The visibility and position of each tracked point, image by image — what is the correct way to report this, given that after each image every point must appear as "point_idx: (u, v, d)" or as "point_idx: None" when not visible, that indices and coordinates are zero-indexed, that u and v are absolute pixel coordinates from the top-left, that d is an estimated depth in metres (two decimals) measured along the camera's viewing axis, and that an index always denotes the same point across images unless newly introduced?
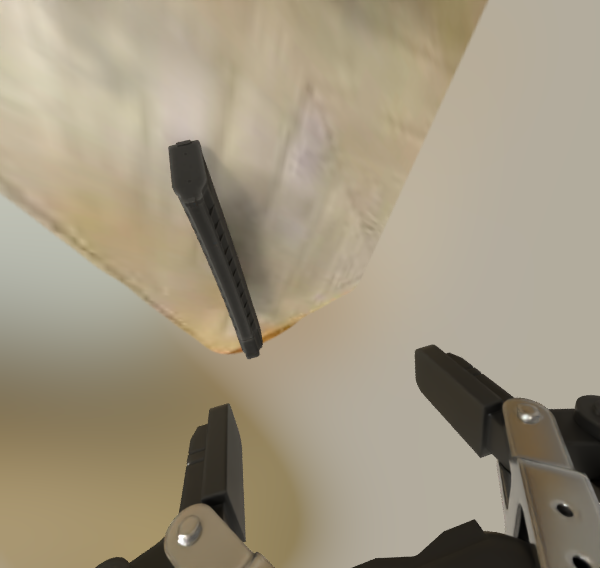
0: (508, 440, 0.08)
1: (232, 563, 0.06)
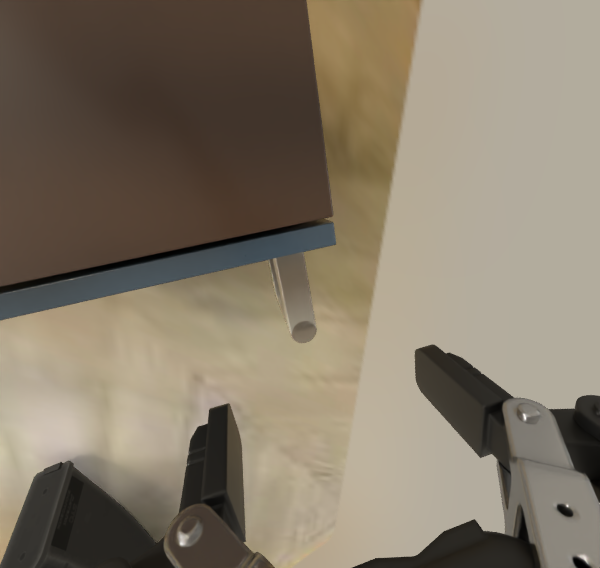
0: (508, 440, 0.08)
1: (232, 563, 0.06)
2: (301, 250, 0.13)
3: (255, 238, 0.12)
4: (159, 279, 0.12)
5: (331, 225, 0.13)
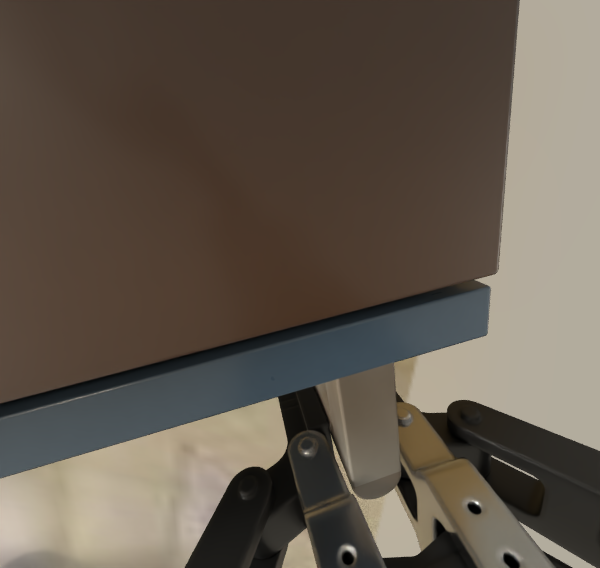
0: (401, 453, 0.08)
1: (332, 490, 0.07)
2: (408, 354, 0.05)
3: (299, 333, 0.05)
4: (36, 456, 0.04)
5: (486, 294, 0.05)
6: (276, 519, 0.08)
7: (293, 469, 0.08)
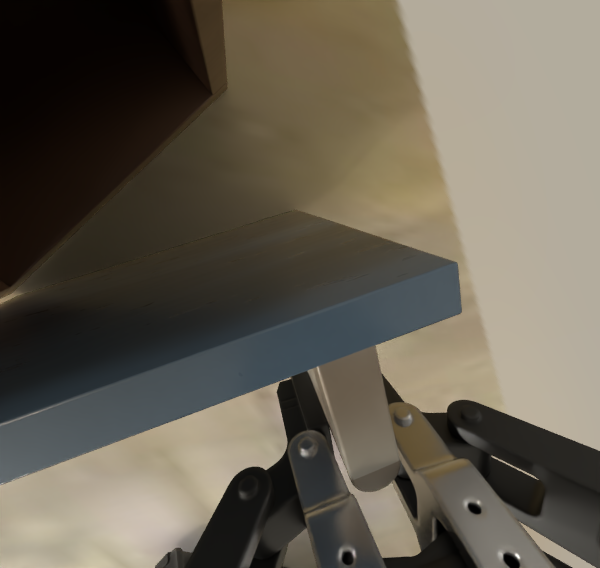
0: (401, 453, 0.08)
1: (331, 490, 0.07)
2: (380, 339, 0.05)
3: (262, 327, 0.05)
4: (15, 467, 0.04)
5: (453, 270, 0.05)
6: (276, 519, 0.08)
7: (293, 469, 0.08)
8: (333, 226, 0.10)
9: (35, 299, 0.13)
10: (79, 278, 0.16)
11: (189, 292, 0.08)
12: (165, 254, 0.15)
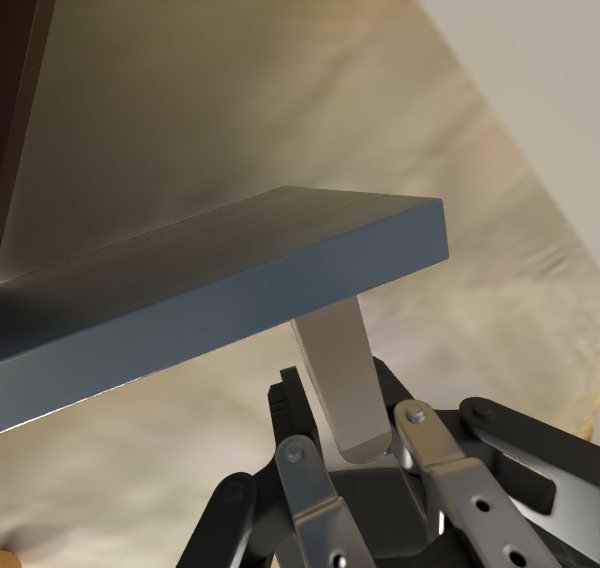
0: (411, 449, 0.08)
1: (320, 494, 0.07)
2: (358, 289, 0.05)
3: (223, 276, 0.04)
4: None
5: (437, 208, 0.04)
6: (262, 524, 0.08)
7: (281, 475, 0.08)
8: (318, 192, 0.10)
9: (15, 284, 0.13)
10: (62, 263, 0.15)
11: (161, 258, 0.07)
12: (149, 235, 0.15)
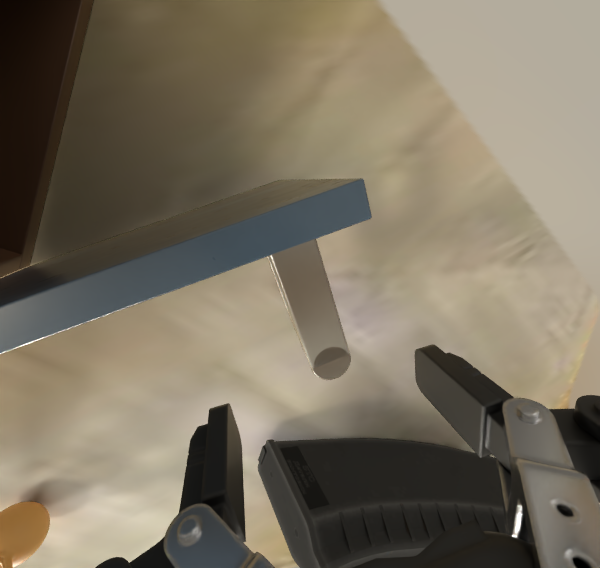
0: (508, 440, 0.08)
1: (232, 563, 0.06)
2: (312, 236, 0.07)
3: (227, 225, 0.07)
4: (67, 320, 0.07)
5: (360, 184, 0.07)
6: None
7: None
8: (301, 181, 0.12)
9: (55, 260, 0.15)
10: (90, 245, 0.18)
11: (182, 228, 0.10)
12: (164, 221, 0.17)
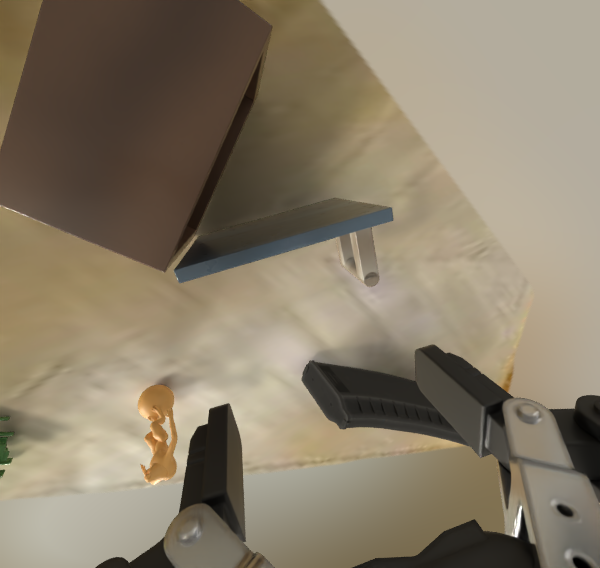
0: (508, 440, 0.08)
1: (232, 563, 0.06)
2: (373, 225, 0.22)
3: (347, 219, 0.21)
4: (295, 246, 0.21)
5: (390, 209, 0.21)
6: None
7: None
8: (358, 203, 0.27)
9: (223, 233, 0.30)
10: (231, 227, 0.32)
11: (314, 220, 0.24)
12: (274, 217, 0.32)
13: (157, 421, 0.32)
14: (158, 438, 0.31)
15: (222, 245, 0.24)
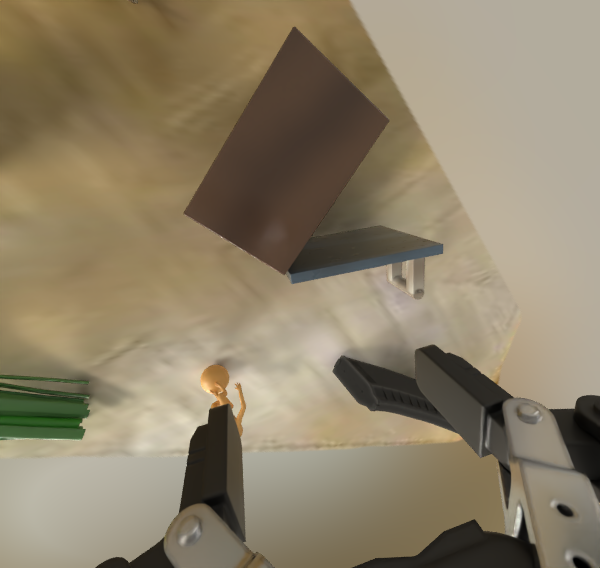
0: (508, 440, 0.08)
1: (232, 563, 0.06)
2: (429, 255, 0.30)
3: (412, 250, 0.30)
4: (374, 265, 0.29)
5: (442, 245, 0.30)
6: None
7: None
8: (409, 235, 0.35)
9: None
10: None
11: (381, 246, 0.32)
12: (335, 236, 0.40)
13: (222, 393, 0.39)
14: None
15: (312, 257, 0.32)
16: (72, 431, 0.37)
